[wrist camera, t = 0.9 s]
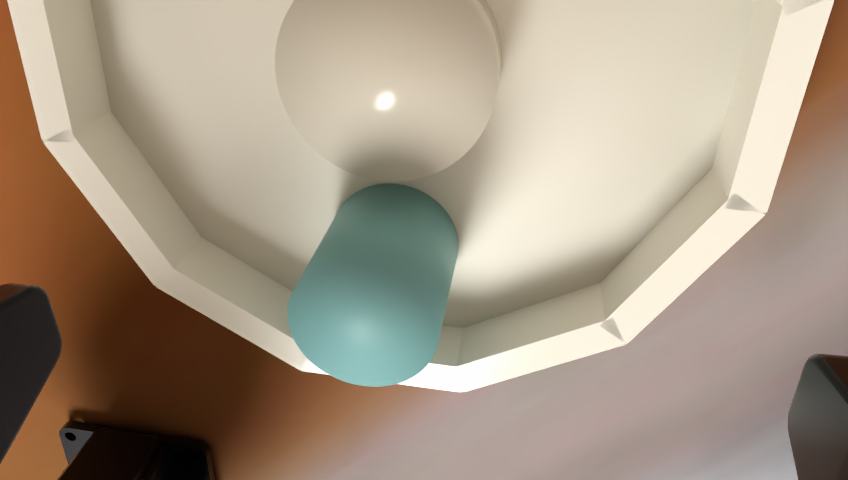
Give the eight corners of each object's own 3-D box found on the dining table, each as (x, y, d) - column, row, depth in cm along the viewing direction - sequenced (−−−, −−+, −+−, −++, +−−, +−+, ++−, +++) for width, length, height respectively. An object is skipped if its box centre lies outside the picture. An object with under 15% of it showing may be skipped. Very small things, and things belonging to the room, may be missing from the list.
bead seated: (454, 301, 23) (435, 395, 19) (334, 287, 23) (291, 376, 19) (462, 190, 21) (442, 269, 17) (331, 177, 21) (282, 251, 17)
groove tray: (688, 366, 24) (704, 430, 21) (132, 296, 26) (87, 347, 24) (916, -420, 14) (1000, -479, 11) (-13, -423, 16) (-120, -473, 14)
